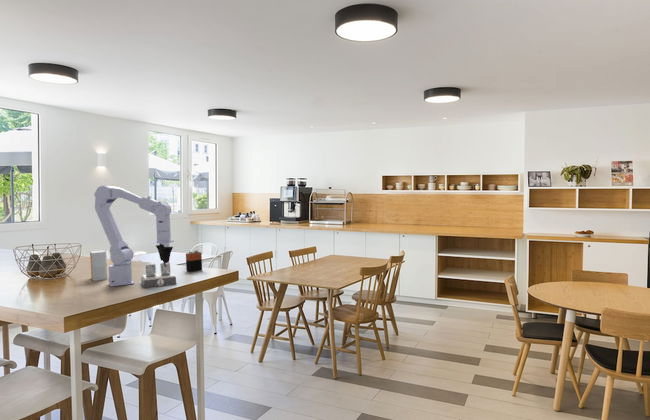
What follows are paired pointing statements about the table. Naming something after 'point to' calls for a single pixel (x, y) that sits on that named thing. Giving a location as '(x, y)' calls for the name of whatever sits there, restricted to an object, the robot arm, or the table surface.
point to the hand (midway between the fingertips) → (164, 261)
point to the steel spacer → (165, 269)
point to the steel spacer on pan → (150, 270)
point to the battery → (193, 261)
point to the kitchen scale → (158, 280)
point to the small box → (98, 265)
